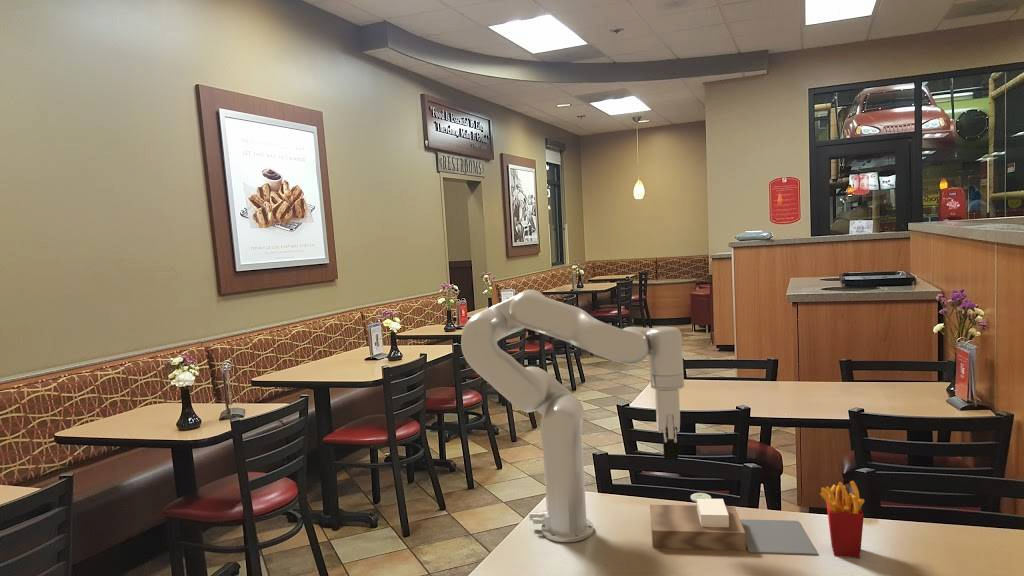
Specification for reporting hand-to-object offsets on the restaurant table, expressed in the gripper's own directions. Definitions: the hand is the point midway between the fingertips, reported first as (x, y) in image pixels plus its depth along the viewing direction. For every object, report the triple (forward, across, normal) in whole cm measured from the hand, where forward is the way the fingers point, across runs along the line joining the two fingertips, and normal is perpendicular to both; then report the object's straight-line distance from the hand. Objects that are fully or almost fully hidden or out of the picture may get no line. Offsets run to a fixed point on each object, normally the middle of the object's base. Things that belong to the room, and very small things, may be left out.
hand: (671, 457), depth 147 cm
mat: (+18, 0, +22) cm, 29 cm away
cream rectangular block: (+14, 0, +9) cm, 17 cm away
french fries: (+19, +5, +35) cm, 40 cm away
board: (+18, 0, +5) cm, 19 cm away
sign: (+19, -16, +8) cm, 26 cm away
